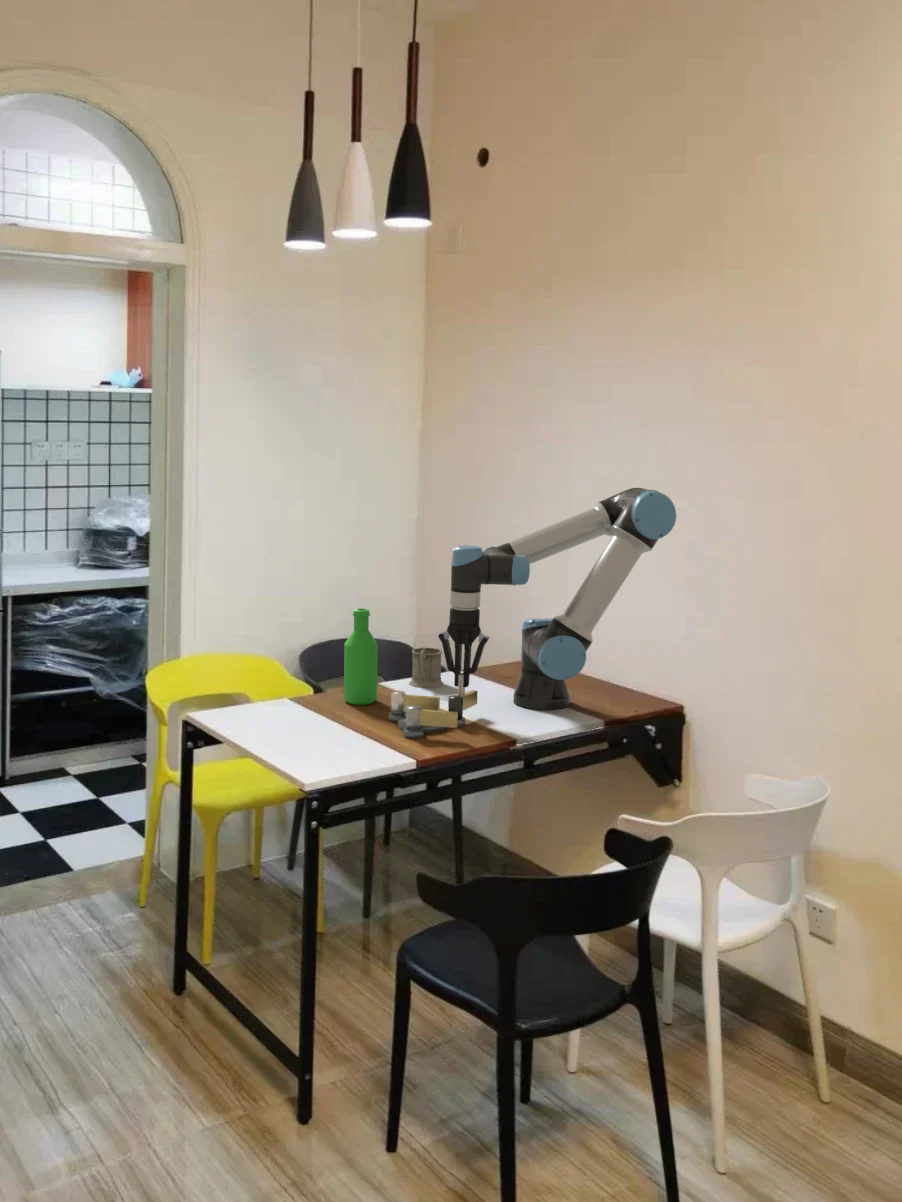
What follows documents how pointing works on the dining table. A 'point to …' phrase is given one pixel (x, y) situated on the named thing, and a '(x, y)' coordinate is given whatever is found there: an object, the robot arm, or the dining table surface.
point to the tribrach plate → (424, 728)
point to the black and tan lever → (462, 702)
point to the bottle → (360, 662)
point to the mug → (426, 668)
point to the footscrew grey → (429, 718)
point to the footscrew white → (412, 702)
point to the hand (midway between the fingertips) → (461, 699)
